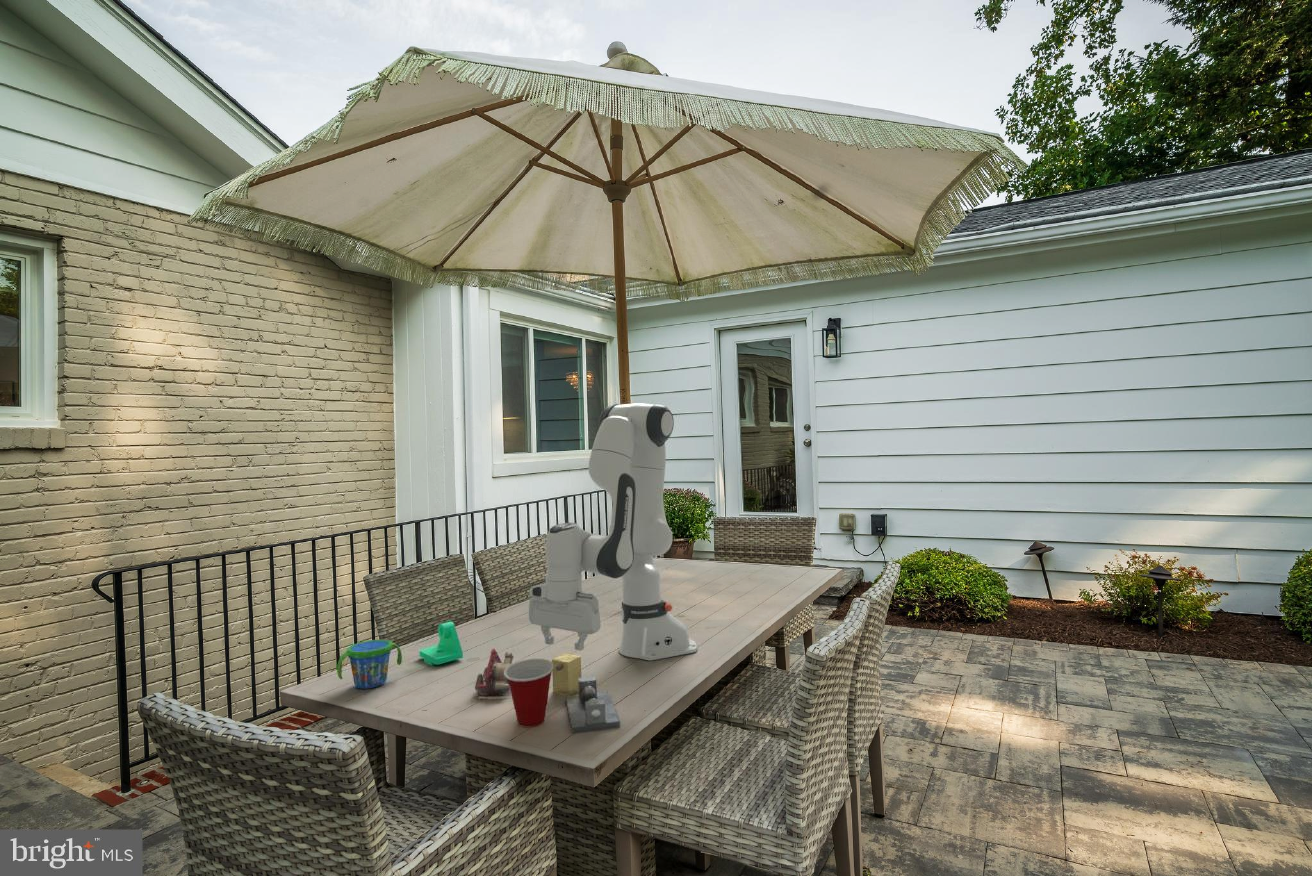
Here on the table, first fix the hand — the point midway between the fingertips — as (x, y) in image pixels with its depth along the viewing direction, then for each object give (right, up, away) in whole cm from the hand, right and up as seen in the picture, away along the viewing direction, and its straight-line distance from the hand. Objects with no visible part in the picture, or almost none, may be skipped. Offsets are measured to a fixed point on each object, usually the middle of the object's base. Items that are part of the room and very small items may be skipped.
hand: (564, 646), depth 155 cm
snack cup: (-51, -13, +9) cm, 54 cm away
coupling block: (+1, -11, +1) cm, 11 cm away
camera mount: (-39, -13, +27) cm, 49 cm away
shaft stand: (+8, -10, -14) cm, 19 cm away
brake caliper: (-17, -12, +2) cm, 21 cm away
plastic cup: (-5, -11, -17) cm, 21 cm away
